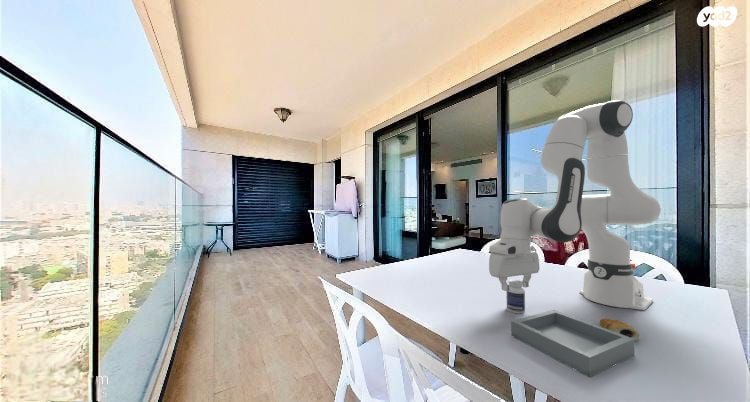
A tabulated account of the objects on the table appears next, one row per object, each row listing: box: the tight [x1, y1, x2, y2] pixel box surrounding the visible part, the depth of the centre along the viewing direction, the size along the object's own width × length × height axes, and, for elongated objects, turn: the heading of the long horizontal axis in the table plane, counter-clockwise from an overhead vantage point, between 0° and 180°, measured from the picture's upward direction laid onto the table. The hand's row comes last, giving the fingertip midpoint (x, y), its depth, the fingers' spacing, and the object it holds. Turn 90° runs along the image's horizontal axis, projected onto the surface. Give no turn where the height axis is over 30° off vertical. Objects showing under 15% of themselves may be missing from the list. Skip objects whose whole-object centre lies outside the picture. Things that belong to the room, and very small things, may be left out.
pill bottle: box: [505, 279, 526, 314], centre depth 85 cm, size 5×5×10 cm
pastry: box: [598, 317, 641, 342], centre depth 70 cm, size 9×7×4 cm
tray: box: [510, 309, 635, 378], centre depth 64 cm, size 18×18×4 cm
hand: (515, 288), depth 84 cm, fingers open, 8 cm apart
